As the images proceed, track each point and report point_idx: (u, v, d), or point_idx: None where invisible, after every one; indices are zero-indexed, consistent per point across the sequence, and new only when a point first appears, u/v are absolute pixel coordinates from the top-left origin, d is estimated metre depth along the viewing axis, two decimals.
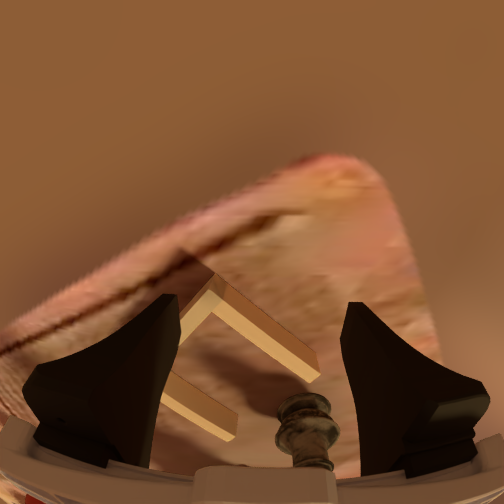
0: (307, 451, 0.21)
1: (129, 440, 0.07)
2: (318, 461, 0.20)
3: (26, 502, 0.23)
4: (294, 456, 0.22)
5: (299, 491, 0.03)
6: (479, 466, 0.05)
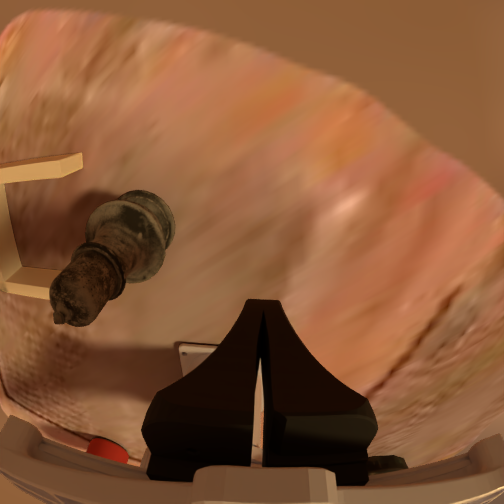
0: None
1: None
2: (78, 250, 0.15)
3: None
4: None
5: (299, 491, 0.03)
6: (479, 466, 0.05)
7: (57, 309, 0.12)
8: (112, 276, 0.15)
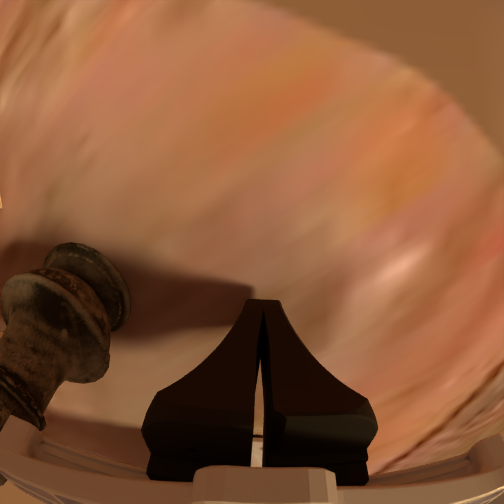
0: None
1: None
2: None
3: None
4: None
5: (299, 491, 0.03)
6: (479, 466, 0.05)
7: None
8: None
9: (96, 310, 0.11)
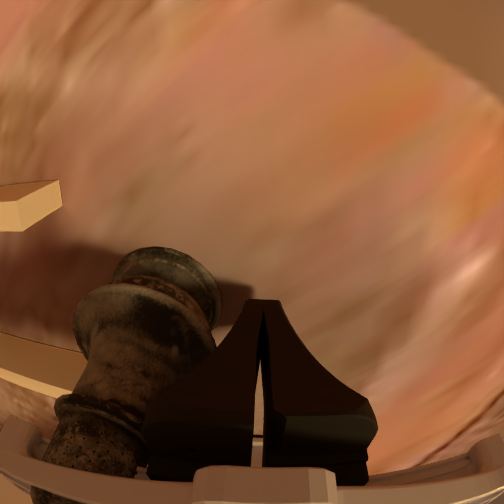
0: (77, 383, 0.08)
1: None
2: (64, 405, 0.07)
3: None
4: None
5: (299, 491, 0.03)
6: (479, 466, 0.05)
7: None
8: (141, 458, 0.07)
9: (205, 321, 0.11)
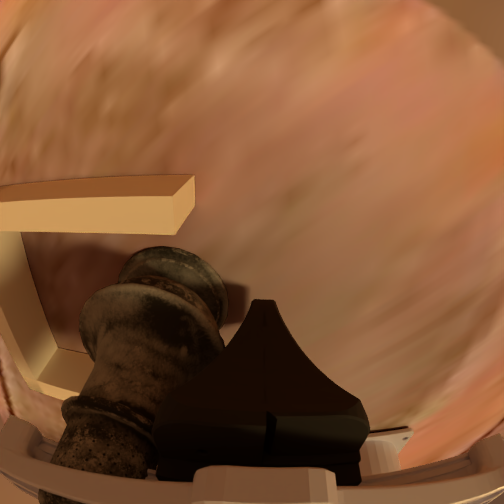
0: None
1: None
2: (72, 406, 0.07)
3: None
4: None
5: (299, 491, 0.03)
6: (479, 466, 0.05)
7: None
8: (151, 460, 0.07)
9: (213, 322, 0.11)
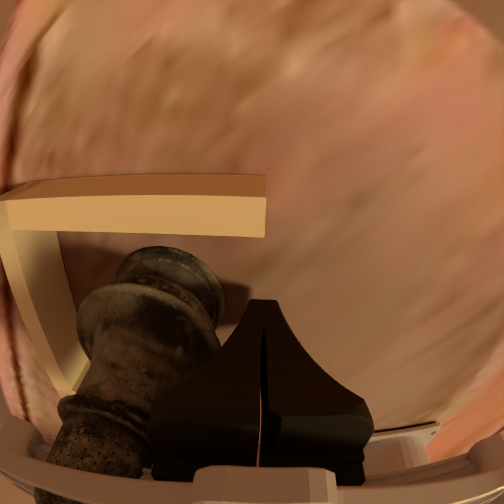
0: (81, 383, 0.08)
1: None
2: (67, 406, 0.07)
3: None
4: None
5: (299, 491, 0.03)
6: (479, 466, 0.05)
7: None
8: (146, 459, 0.07)
9: (209, 322, 0.11)
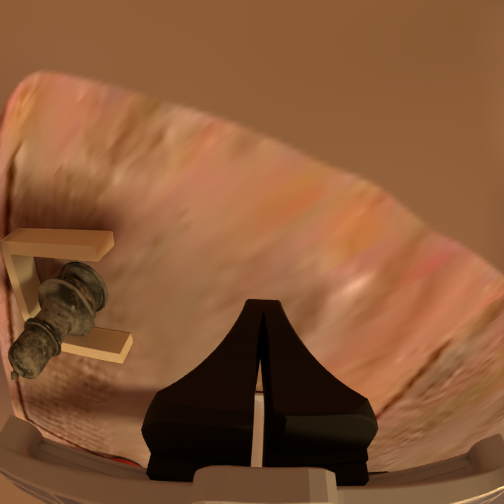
0: None
1: None
2: (27, 322, 0.18)
3: None
4: None
5: (299, 491, 0.03)
6: (479, 466, 0.05)
7: (13, 368, 0.15)
8: (50, 344, 0.18)
9: (89, 297, 0.23)
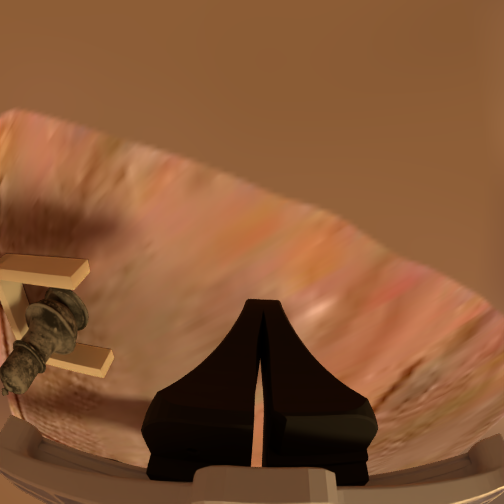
0: None
1: None
2: (15, 344, 0.19)
3: None
4: None
5: (299, 491, 0.03)
6: (479, 466, 0.05)
7: (4, 385, 0.17)
8: (35, 363, 0.19)
9: (69, 319, 0.24)
